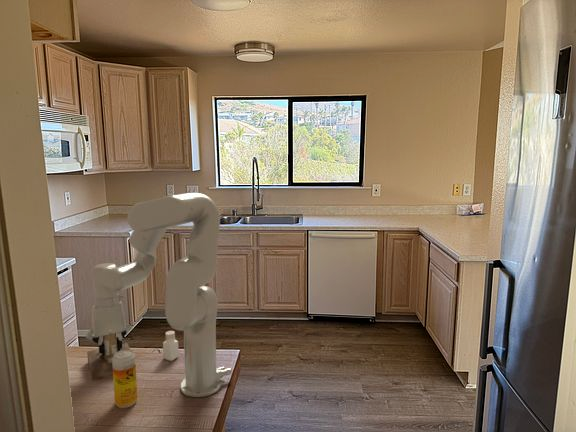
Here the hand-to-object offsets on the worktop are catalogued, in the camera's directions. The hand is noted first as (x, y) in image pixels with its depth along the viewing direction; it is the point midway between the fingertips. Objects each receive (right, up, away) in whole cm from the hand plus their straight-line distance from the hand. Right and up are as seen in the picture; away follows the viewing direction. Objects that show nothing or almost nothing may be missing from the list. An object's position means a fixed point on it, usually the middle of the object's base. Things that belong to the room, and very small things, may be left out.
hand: (110, 352), depth 134 cm
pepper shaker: (+19, -5, +7) cm, 20 cm away
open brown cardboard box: (0, -5, +1) cm, 5 cm away
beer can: (+13, -8, -20) cm, 25 cm away
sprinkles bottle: (0, -4, 0) cm, 4 cm away
